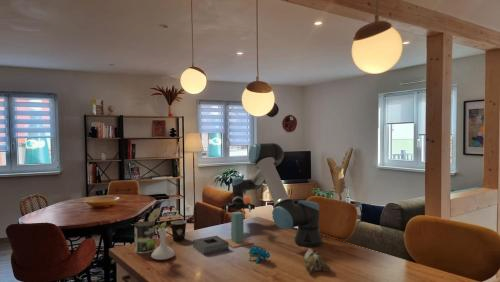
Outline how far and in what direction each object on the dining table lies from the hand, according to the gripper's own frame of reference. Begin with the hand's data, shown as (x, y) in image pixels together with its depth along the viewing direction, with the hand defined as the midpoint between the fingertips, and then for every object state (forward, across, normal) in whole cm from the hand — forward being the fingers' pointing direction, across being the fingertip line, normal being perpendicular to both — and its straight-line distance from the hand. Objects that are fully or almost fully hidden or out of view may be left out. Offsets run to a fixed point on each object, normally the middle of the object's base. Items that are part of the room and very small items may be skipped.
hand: (238, 210), depth 196 cm
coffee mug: (+4, +36, -16) cm, 40 cm away
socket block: (+20, +15, -16) cm, 30 cm away
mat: (+11, +1, -16) cm, 19 cm away
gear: (+38, -9, -16) cm, 43 cm away
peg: (+11, +1, -15) cm, 19 cm away
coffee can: (+20, +50, -16) cm, 56 cm away
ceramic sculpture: (+50, -34, -17) cm, 62 cm away
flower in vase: (+32, +38, -16) cm, 52 cm away
